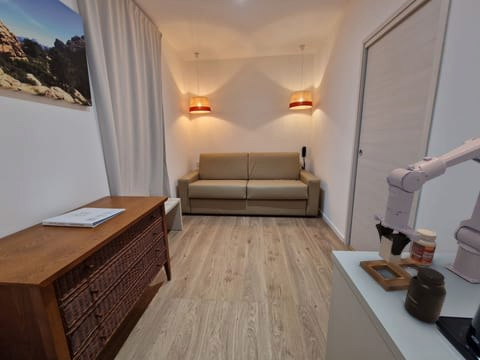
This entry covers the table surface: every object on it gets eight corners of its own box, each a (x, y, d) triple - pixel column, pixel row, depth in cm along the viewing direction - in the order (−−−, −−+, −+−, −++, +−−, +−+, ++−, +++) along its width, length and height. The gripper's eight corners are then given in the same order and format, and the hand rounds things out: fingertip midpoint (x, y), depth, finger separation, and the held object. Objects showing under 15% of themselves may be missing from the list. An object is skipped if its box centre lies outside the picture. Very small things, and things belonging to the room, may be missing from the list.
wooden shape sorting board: (408, 261, 75) (409, 257, 75) (444, 286, 63) (445, 281, 63) (359, 265, 73) (360, 260, 72) (386, 291, 61) (387, 286, 61)
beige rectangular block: (389, 254, 68) (393, 234, 67) (400, 261, 64) (404, 241, 63) (378, 255, 68) (382, 235, 66) (388, 262, 64) (392, 242, 62)
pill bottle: (423, 267, 72) (430, 237, 69) (405, 257, 78) (411, 229, 75) (435, 264, 74) (443, 235, 71) (416, 254, 79) (423, 227, 77)
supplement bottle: (399, 309, 55) (408, 270, 52) (409, 298, 59) (418, 260, 56) (433, 329, 50) (446, 286, 47) (441, 315, 54) (453, 274, 51)
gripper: (368, 201, 69) (362, 239, 72) (407, 220, 55) (397, 266, 58) (388, 200, 69) (381, 238, 73) (431, 219, 55) (420, 264, 59)
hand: (389, 250), depth 65 cm, fingers closed on beige rectangular block, 4 cm apart
